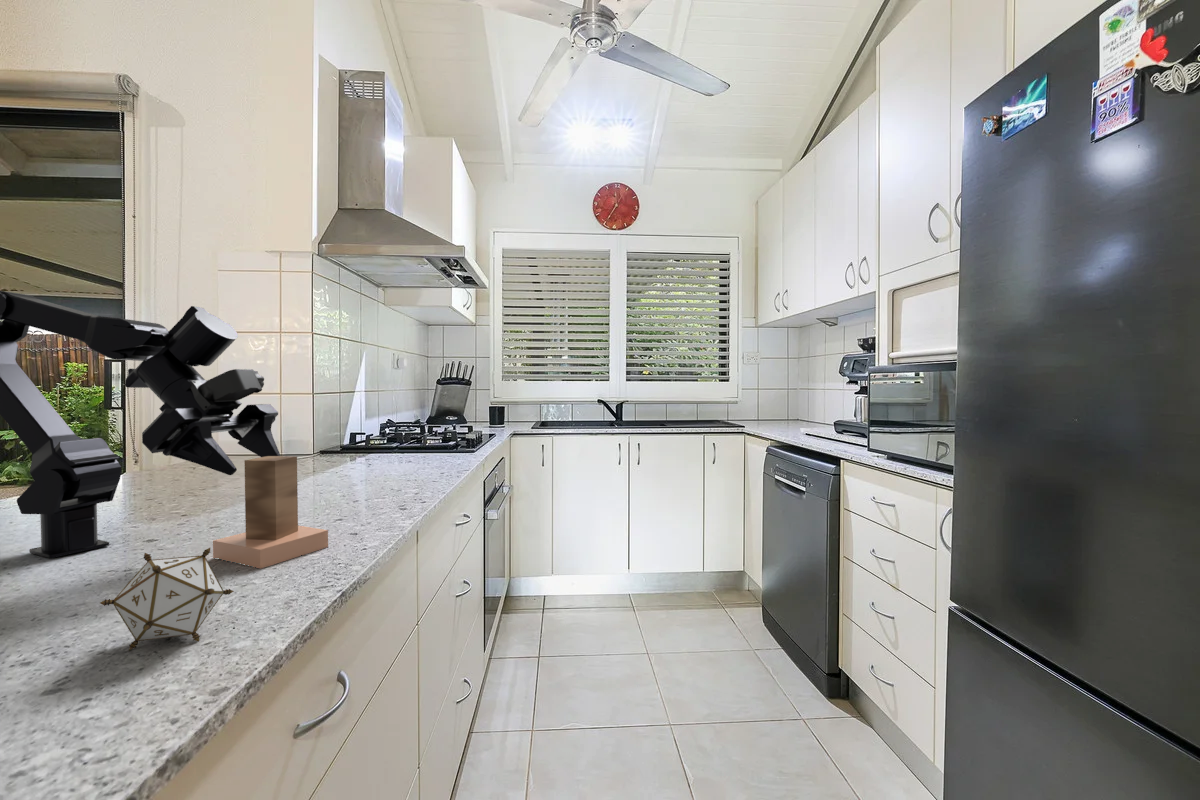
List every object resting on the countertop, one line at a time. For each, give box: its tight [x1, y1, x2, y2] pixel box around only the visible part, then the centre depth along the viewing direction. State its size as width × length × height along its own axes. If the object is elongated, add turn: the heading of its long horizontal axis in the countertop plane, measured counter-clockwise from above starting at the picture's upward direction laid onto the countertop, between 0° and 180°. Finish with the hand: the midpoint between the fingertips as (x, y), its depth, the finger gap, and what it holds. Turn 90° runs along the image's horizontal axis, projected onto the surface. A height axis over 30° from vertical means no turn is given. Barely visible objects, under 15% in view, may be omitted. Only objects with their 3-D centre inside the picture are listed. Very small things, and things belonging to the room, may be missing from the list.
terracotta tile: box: [212, 525, 329, 570], centre depth 74 cm, size 10×10×2 cm
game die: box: [99, 547, 235, 652], centre depth 49 cm, size 9×8×10 cm
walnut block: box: [244, 455, 299, 540], centre depth 74 cm, size 4×4×11 cm
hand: (258, 467), depth 74 cm, fingers open, 9 cm apart
